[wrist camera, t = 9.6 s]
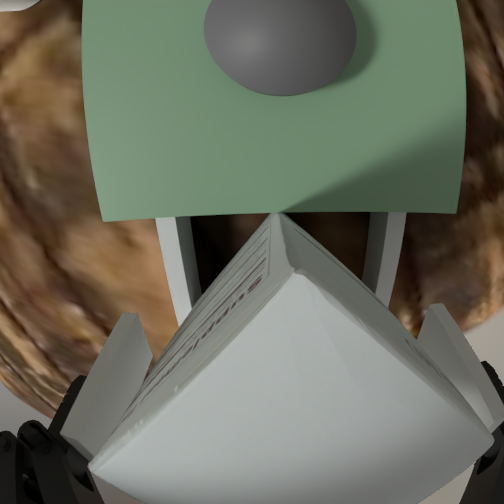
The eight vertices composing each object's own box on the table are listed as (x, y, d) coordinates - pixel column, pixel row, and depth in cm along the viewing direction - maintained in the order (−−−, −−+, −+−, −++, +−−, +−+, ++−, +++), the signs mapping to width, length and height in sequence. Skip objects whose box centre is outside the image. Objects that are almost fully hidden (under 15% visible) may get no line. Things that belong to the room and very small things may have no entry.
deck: (121, -3, 10) (71, -31, 6) (413, -8, 9) (462, -36, 5) (171, 341, 21) (152, 397, 16) (388, 336, 20) (409, 389, 15)
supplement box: (371, 287, 16) (503, 443, 4) (286, 371, 18) (295, 560, 5) (276, 201, 16) (306, 252, 3) (192, 300, 17) (80, 475, 5)
